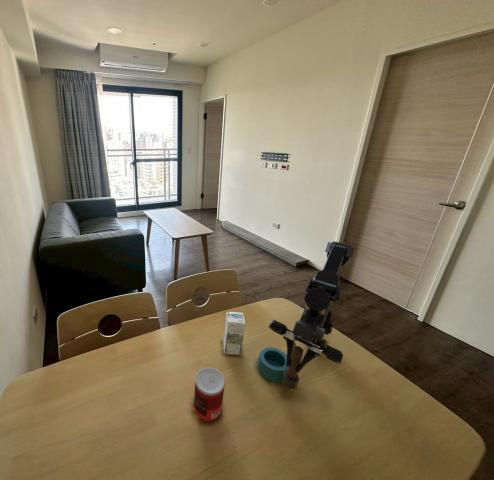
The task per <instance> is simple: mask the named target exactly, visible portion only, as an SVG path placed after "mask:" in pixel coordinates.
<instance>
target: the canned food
mask: <svg viewBox="0 0 494 480" xmlns="http://www.w3.org/2000/svg"><path fill="white" fill-rule="evenodd" d="M225 383H226V382H225V377H224V375H223V373H222V372H220V370H218V369H216V368H214V367H204V368H202V369H200V370H198V371H197V373H196V375H195V380H194V393H193V394H194V395H193V409H194V412H195V415H196V416H197V417H198V418H199V419H200V420H201V421H204V422H213V421H215V420H217V419H218V418H219V416H220V415H221V412H222V409H223V400H224V394H225V386H226V385H225Z"/></svg>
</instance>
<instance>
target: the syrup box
mask: <svg viewBox="0 0 494 480" xmlns="http://www.w3.org/2000/svg"><path fill="white" fill-rule="evenodd" d="M246 325H247V324H246V321H245V315H244V312H238V311H226V315H225V322H224V331H223V340H222V345H223V353H224V355H230V356H241V355H242V349H243V343H244V337H245V330H246Z"/></svg>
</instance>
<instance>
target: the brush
mask: <svg viewBox="0 0 494 480" xmlns="http://www.w3.org/2000/svg"><path fill="white" fill-rule="evenodd" d="M303 353H304V349H303V348H302V347H301V346H300V345H296V346H294V348H293V352H292V356H291V360H290V364H289V368H288V370H286V371H285V372H284V375H283V379H282V382H281V383H282V385H283V386H284V388H286V389H288V390H292V391H294V390H297V388H298V385H299V381H300V376H299V373H297V369H298V367H299V365H300V363H301V361H302V359H303V358H302V357H303V355H304V354H303Z"/></svg>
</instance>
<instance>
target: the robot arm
mask: <svg viewBox="0 0 494 480" xmlns="http://www.w3.org/2000/svg"><path fill="white" fill-rule="evenodd" d="M355 251H356V248H355V247H354V246H353V245H352V244H348V243H344V242H339V241H335V240H333V241H332V242H330V241H328V242H327V244H326V248H325V250H324V252H325V253H326V261H325V263H324V265H323V268H322V270H319V271H317V272H316V273H315V275H314V277H312V278H311V279H310V281H309V282H308V284H307V286H306V288H305V295H304V304H305V305H304V306H305V307H304V309H303V312H302V313H301V317H300V318H299V319H298V320H296V321H295V323H294V326H293V329H292V330H291V329H289V328H288V326H287V325H286V324H284V323H283V322H280V321H278V320H276V319H273V320H271V321H270V323H269V325H268V328H269V329H270V330H271V331H272V332H274V333H276V334H278V335H280V336H282V339H283V340H284V341H285V342H286V355H287V363H286V367H289V364H290V360H291V356H292V352H293V348H294V346H297V343H296V341H297V342H299V343H301V344H303V345H305V346H307V347H309V348H307V350H306V352H305V354H304V356H303V358H302V359H301V362H300V365H299V367H298V369H297V374H299V373H300V372H301V371H302V370H303V369H304V368H305V367H306V366H307V365H308V364H309V363H310V362H311V361H312V360H314V359H315V358H319V359H321V355H325V357H326V359H327V360H330V361H331V362H333V363H336V364H337V365H341V364H342V360H343V358H344V353H343V352H342V351H341V350H339V349H337V348H335V347H333V346H331V345H329V344H327V345H326V346H324V344H326V339H324V336H325V335H326V336H328V335H329V334H331V333H332V331H333V328H334V323H333V319H331V318H332V311H331V308H330V304H331V302H332V303H336V302H339V300H340V298H341V296H342V292H343V291H342V290H341V289H342V288H341V286H339V284H340V280H341V279H340V273H341V271H342V269H343V268H344V267H345V266H347V265H348V264H349V262H350V260H351V259H353V258H354V255H355Z"/></svg>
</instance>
